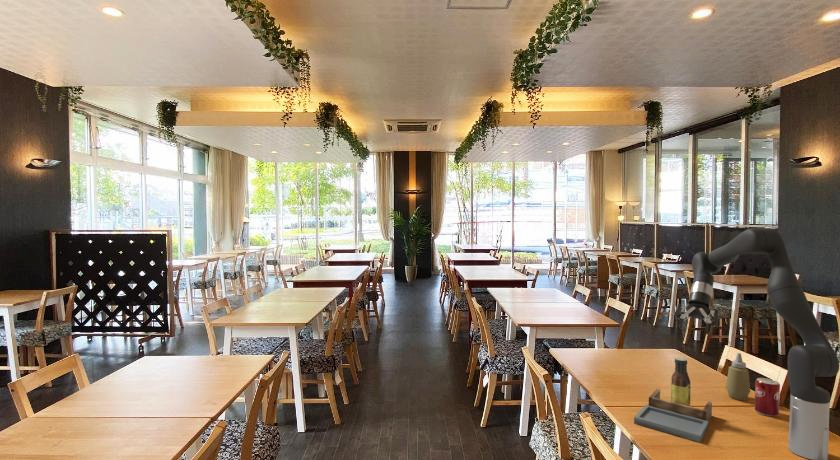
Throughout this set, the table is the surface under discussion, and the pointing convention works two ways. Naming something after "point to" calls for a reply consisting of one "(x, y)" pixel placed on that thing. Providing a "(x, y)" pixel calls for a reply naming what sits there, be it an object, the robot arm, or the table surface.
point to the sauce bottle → (680, 383)
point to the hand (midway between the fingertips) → (693, 331)
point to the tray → (672, 423)
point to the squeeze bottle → (738, 379)
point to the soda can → (767, 397)
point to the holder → (680, 407)
